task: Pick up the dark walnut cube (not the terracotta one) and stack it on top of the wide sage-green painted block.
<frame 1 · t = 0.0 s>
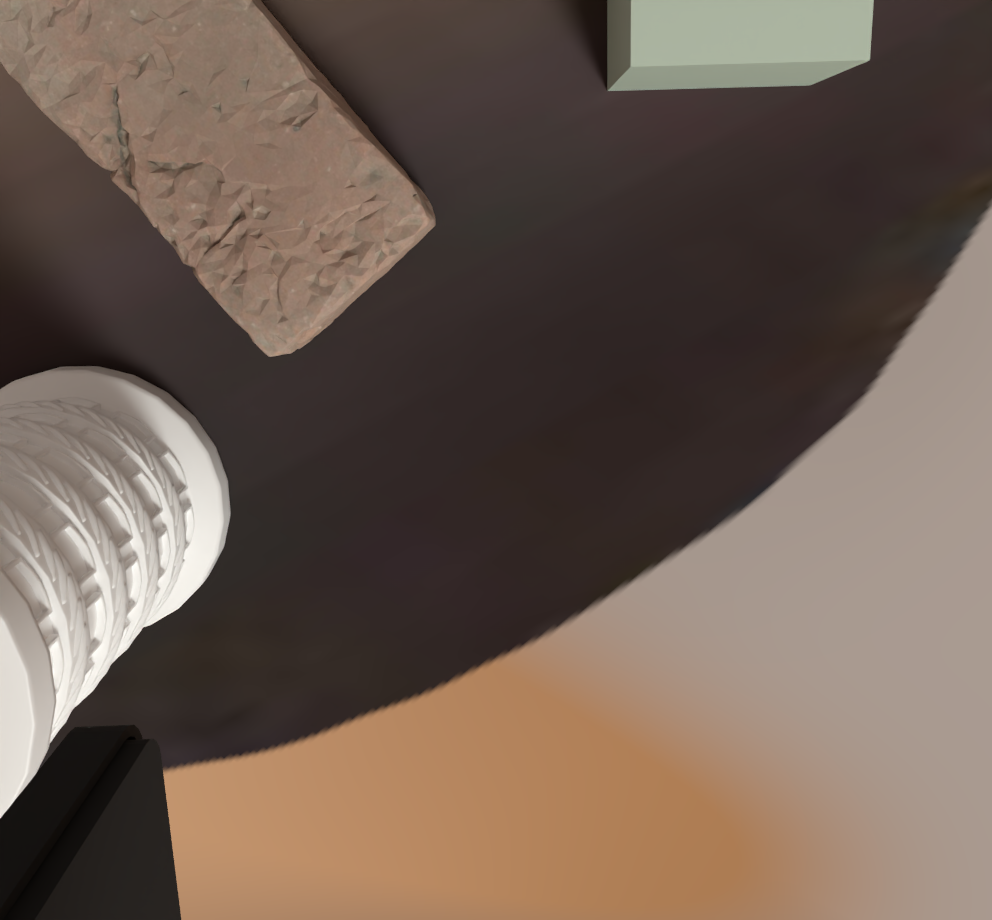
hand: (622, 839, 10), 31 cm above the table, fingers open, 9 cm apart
brick: (229, 128, 38), on the table
decorative container: (97, 497, 41), on the table
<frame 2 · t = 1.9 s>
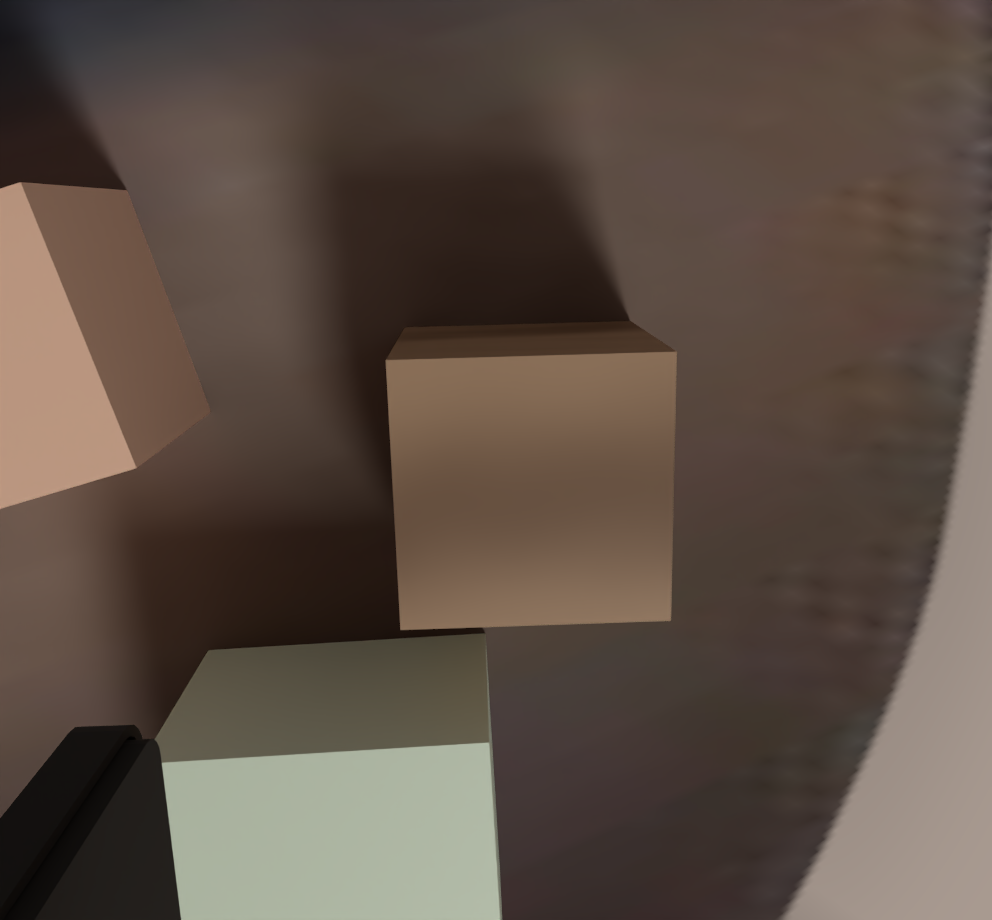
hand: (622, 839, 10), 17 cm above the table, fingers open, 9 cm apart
walnut cube: (519, 433, 26), on the table
base block: (360, 761, 29), on the table
terracotta cube: (64, 336, 25), on the table
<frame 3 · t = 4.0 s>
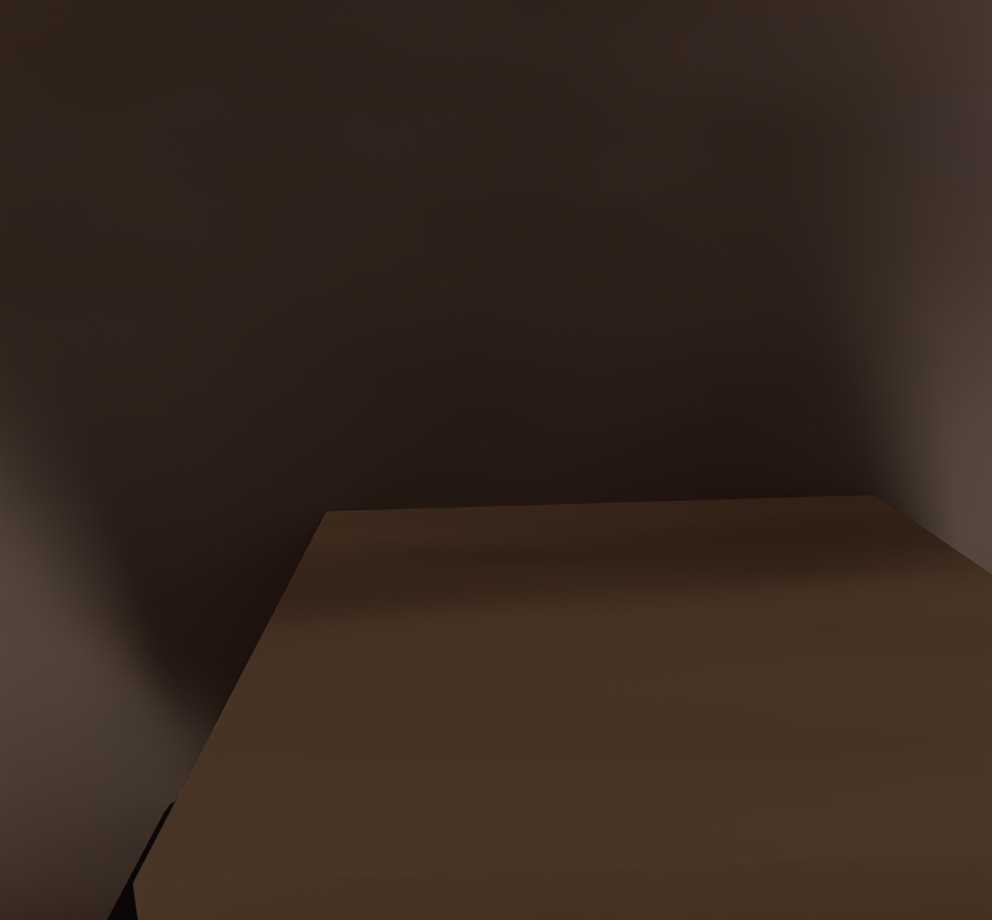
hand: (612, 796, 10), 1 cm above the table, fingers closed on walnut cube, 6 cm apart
walnut cube: (601, 748, 11), on the table, touching gripper
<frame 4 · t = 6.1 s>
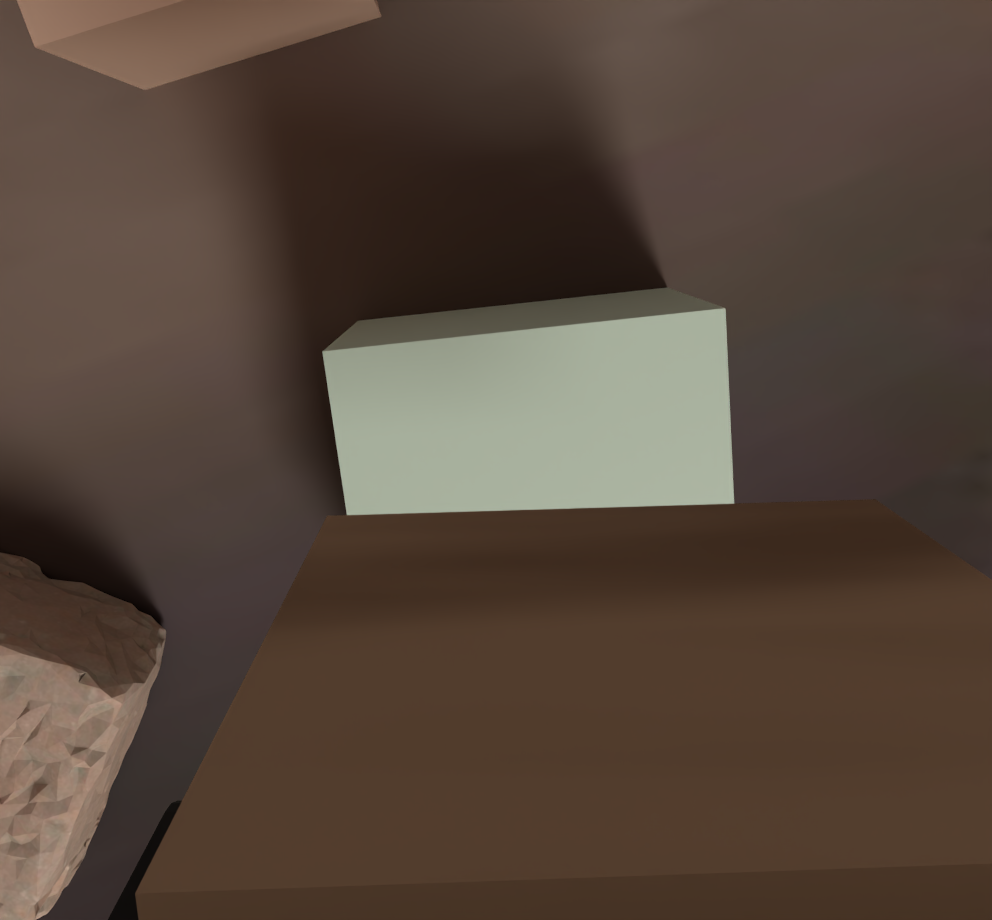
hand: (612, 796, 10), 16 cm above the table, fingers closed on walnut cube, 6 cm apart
walnut cube: (601, 753, 11), point 15 cm above the table, touching gripper
base block: (527, 452, 26), on the table
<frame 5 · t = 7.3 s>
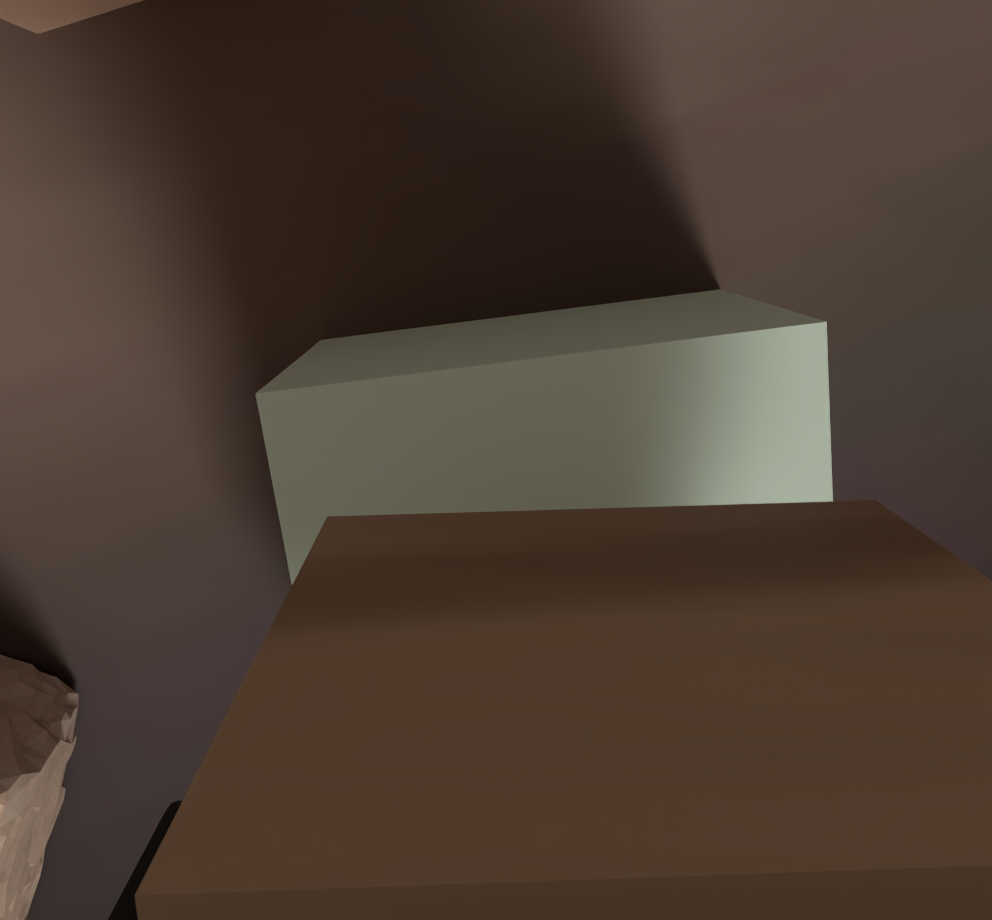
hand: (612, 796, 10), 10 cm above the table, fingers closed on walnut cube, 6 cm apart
walnut cube: (601, 753, 11), point 9 cm above the table, touching gripper
base block: (542, 503, 20), on the table
when the fingers open (8 cm above the table, at t = 8.2 s): walnut cube drops 1 cm, resting on base block.
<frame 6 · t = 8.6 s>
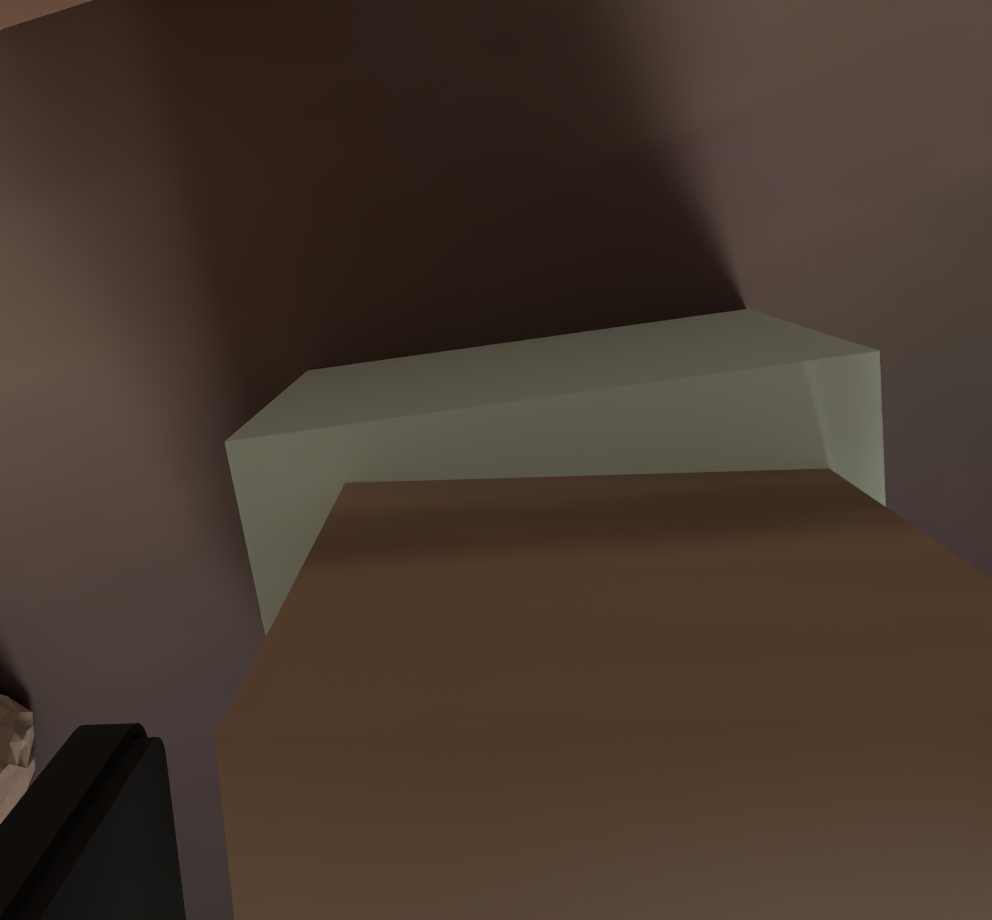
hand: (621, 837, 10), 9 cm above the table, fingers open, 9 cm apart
walnut cube: (588, 696, 12), point 6 cm above the table, touching base block
base block: (552, 544, 18), on the table, touching walnut cube
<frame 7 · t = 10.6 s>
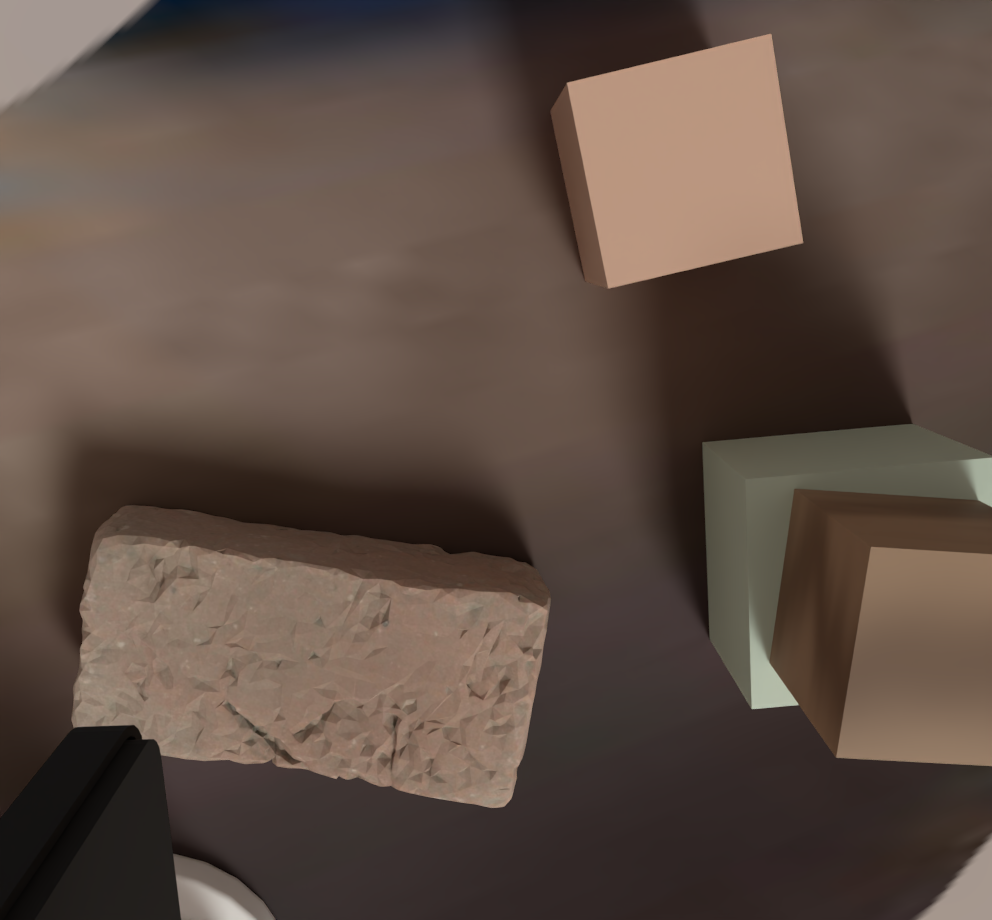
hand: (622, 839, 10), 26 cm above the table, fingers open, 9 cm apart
walnut cube: (871, 582, 31), point 6 cm above the table, touching base block
brick: (323, 626, 38), on the table
base block: (807, 532, 37), on the table, touching walnut cube
terracotta cube: (650, 178, 34), on the table
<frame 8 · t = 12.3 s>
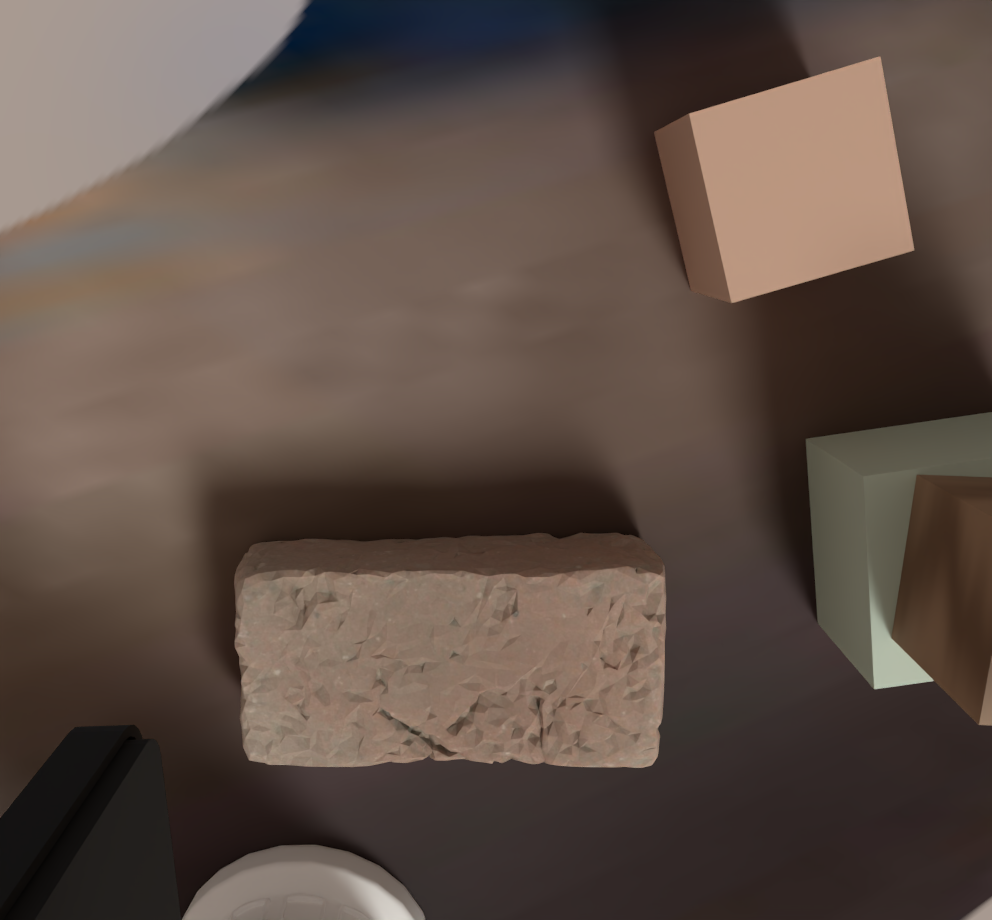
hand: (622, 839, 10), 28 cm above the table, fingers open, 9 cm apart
walnut cube: (988, 561, 33), point 6 cm above the table, touching base block
brick: (451, 624, 40), on the table
base block: (907, 518, 39), on the table, touching walnut cube
terracotta cube: (750, 190, 36), on the table
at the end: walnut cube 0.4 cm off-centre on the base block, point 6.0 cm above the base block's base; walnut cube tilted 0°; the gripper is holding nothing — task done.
